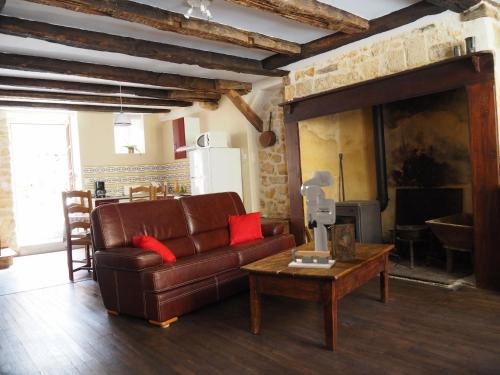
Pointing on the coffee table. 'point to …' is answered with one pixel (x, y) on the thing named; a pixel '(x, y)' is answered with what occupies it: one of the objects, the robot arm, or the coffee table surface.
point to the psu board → (312, 262)
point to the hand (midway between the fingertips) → (312, 228)
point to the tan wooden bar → (309, 253)
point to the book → (343, 242)
